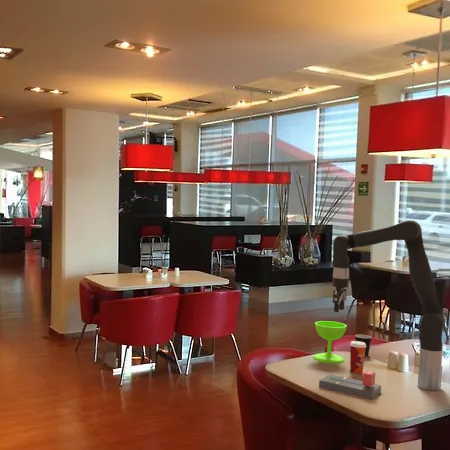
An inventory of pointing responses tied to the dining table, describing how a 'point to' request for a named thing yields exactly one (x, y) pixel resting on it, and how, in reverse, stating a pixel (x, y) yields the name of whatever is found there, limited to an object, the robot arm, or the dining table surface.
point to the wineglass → (329, 340)
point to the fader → (369, 378)
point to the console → (349, 386)
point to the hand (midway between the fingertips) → (339, 310)
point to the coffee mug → (366, 340)
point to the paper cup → (357, 356)
